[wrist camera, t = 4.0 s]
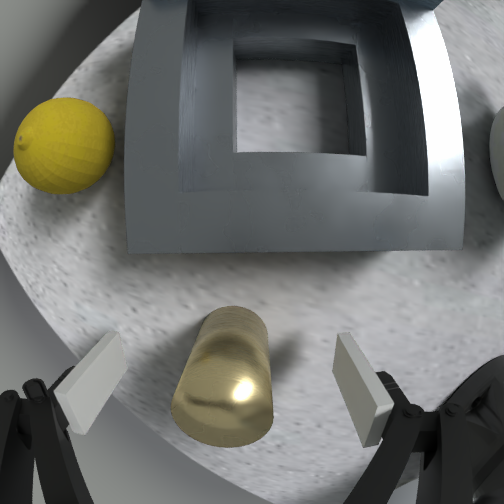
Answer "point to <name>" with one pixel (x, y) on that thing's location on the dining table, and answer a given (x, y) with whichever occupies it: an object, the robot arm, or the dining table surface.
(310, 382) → the dining table surface
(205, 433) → the brass cylinder
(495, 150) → the teacup
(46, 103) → the lemon
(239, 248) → the jig
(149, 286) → the dining table surface
